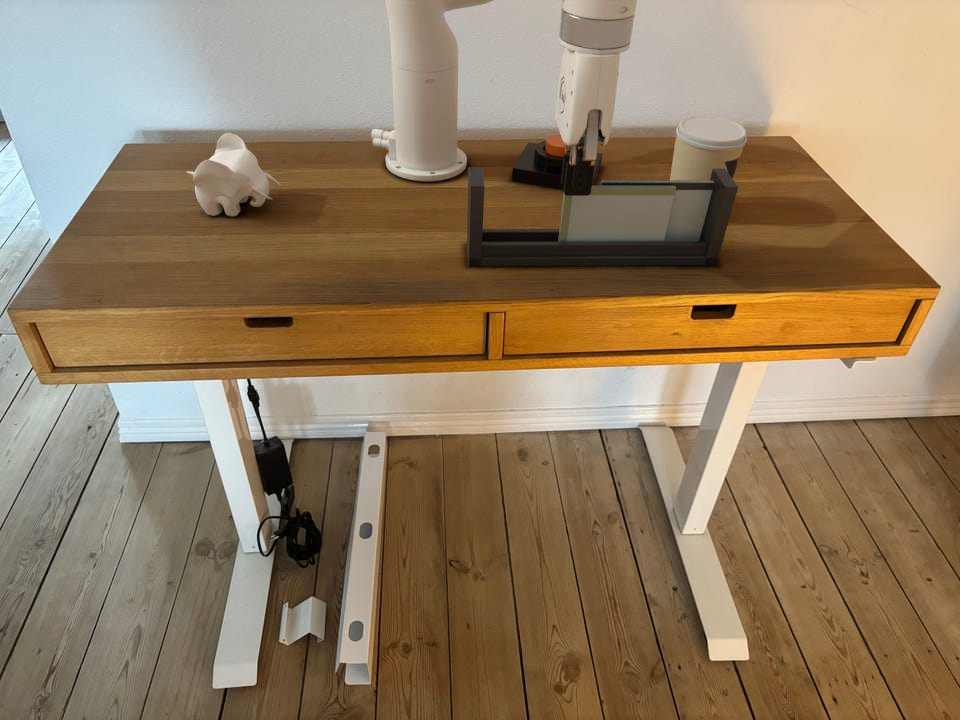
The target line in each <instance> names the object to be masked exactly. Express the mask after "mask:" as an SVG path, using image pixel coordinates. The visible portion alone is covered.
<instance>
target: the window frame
mask: <svg viewBox="0 0 960 720" xmlns="http://www.w3.org/2000/svg"><path fill="white" fill-rule="evenodd" d="M467 176H468V177H467V180H468V182H467V214H466V215H467V217H466V219H467V220H466V227H467V228H466V254H467V261H468V262H467V264H468V267H572V266H573V267H579V266H580V267H581V266H583V267H586V266H588V267H589V266H591V267H593V266H596V267H597V266H598V267H599V266H601V267H603V266H607V267H608V266H613V267H614V266H717V264H718V260H719V256H720V253H721V250H722V246H723V243H724V239H725V236H726V232H727V228H728V226H729V223H730V218H731V215H732V211H733V208H734V204H735V202H736V201H735V200H736V196H737V193H738V191H739V190H738V189H739V186H738V184H737V183H736V182H735V180H734V178H733V179H732V177H731V176H730V175H729V173H728V172H727V171H726V169H713V170H712V174H711V178H710V181H680V180H670V179H669V180H665V179H663V180H655V179H654V180H653V179H652V180H648V179H645V180H644V179H643V180H641V179H639V180H638V179H637V180H636V179H635V180H634V179H632V180H630V179H627V180H626V179H621V180H620V179H618V180H617V179H601V181H600V186H675V187H676V191H675V195H674V199H673V204H672V208H671V213H670V217H669V222H668V226H667V230H666V235H665V239H664V241H647V242H558V238H559V229H560V228H484V208H485V187H486V186H485V182H484V181H485V180H484V173H483V167H468V175H467Z"/></svg>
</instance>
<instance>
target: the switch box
mask: <svg viewBox="0 0 960 720" xmlns="http://www.w3.org/2000/svg"><path fill="white" fill-rule="evenodd" d="M545 146H546V139H545V140H543V141H540V142H536V143H535V142H531V141H530V142H529V141H528V142H527V143H526V145H525V147H524V149H523V150H522V152H521V153H520V155H519V156H518V158H517V160H516V162H515V163H514V165H513V167H512V171H511V182H513V183H520V184H524V185H532V186H537V187H544V188H550V189H556V190H562V191H564V187H563V186H562V185H561V177H562V168H563V159H564V156H562V157H560V156H553V155H551V154H548V153H546V152H545ZM603 155H604V154H603V153H602V152H597V157H596V161H595V167H594V174H593V181H592V185H595V183H596V180H597V177H598V174H599V172H600V169H601V167H602V161H603V160H602V159H603Z"/></svg>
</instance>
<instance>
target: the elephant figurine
mask: <svg viewBox="0 0 960 720" xmlns="http://www.w3.org/2000/svg"><path fill="white" fill-rule="evenodd" d="M215 148H216V149H215V151H214V154H213V155H212V156H211V157H210V158H209V159H204V160H203V161H201V162H200V163H199V164H198V165H197V167H196V168H195V171H191V170H190V171H189V170H187V171H186V174H188V175H190V176H192V180H191V181H192V183H193V184H194V192H195V193H194V194H195V196H196V200H197V202H198V204H199V205H200V207H201V208H202V210H203V211H204V212H205V213H206V214H207V215H209V216H212V217H216V216H218V215H220V214H222V212H223V210H224V213H225V215H226V216H228V217H237V216H238V215H239V214H240V213H241V206H240V205H241V204H244V203H246V202H247V201H248V199H249V197H252V199H251V200H250V201H249V204H250V206H252V207H254V208H260V207H261V206H263V205H264V204H265V202H266V199H267V200H272V201H274V199H273V198H272V197H271V196H269V195H270V190H271V186H270V182H269V180H270V181H272V182H273V183H275V184H276V185H278V186H281V187H282V185H281V183H280V182H279V181H277V180H276V178H274V177H273V176H272V175H271V174H269V173H268V172H264V171H263V170H262V168H261V167H260V165H259V162H258V158H257V157H256V156H255V154H254V153H252V152H251V150H249V149H248V146H247V145H246V143H245V141H244V140H243V139H242V138H241V137H240V136H239V135H237V134H234V133H232V132H225V133H224V134H222V135H221V136H220V137H219V138H218V139H217V142H216V147H215ZM222 207H223V208H222Z"/></svg>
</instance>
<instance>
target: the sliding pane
mask: <svg viewBox="0 0 960 720" xmlns="http://www.w3.org/2000/svg"><path fill="white" fill-rule="evenodd" d="M571 147H572V145H571ZM579 148H584V147H578V150H579ZM570 155H571V152H570ZM569 162H570V160H569ZM675 191H676V187H675V186H601V185H600V184H599V185H595V184H594V185H592V188H591V194H590V195H588V196H566V195H565V194H564V193H563V194H562V195H563V196H562V204H561V212H560V222H559V228H558V229H559V238H558V242H647V241H664V239H665V235H666V230H667V226H668V222H669V217H670V213H671V208H672V204H673V199H674V195H675Z"/></svg>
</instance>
